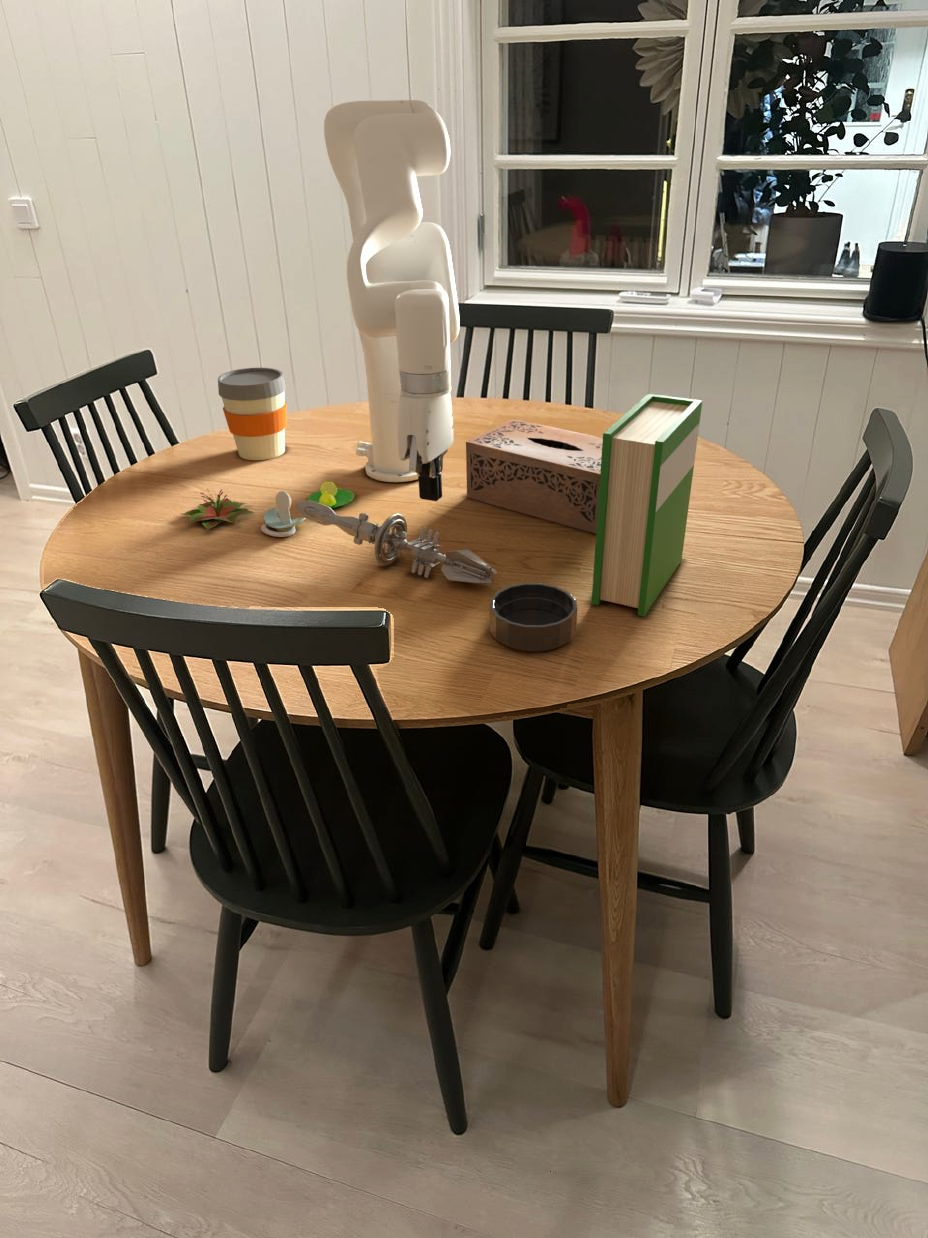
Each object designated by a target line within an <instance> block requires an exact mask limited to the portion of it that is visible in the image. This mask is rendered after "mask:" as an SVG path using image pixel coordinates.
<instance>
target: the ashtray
mask: <svg viewBox="0 0 928 1238" xmlns="http://www.w3.org/2000/svg"><path fill="white" fill-rule="evenodd" d="M577 621H578V603H577V599H576V597H574V596H573V595H572V594H571V593H570V592H569V591H567V590H565V589H563V588H561V587H559V586H557V585H553V584H552V585H551V584H547V583H542V582H522V583H517V584H512V585H508V586H505V587H503V588H501V589H500V590H498V591H496V592H495V593H494V595H492V596H491V598H490V600H489V632H490V633H491V635H492V637H494V639H495V640H496V641H497V642H499V643H501V644H502V645H504V646H506V647H508V648H510V649H513V650H517V651H520V652H526V653H527V652H528V653H540V652H547V651H553V650H555V649H558V648H560V647H562V646H564V645H565V644H567V643H569V642H571V641H572V639H573V637H574V636H575V635H576V632H577V623H578V622H577Z"/></svg>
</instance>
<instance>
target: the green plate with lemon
mask: <svg viewBox="0 0 928 1238" xmlns="http://www.w3.org/2000/svg"><path fill="white" fill-rule="evenodd" d="M319 489H320V490H318V491H315V492H313V493H312V494H310V495H309V496H308V497H307V500H310V501H315V502H317V503H320V504H323V505H325V506H328V507H330V508H331V509H335V508H339V507H343V506H345V505H347V504H349V503H351V502H352V501H353V500H354V499H355V494H354V493H353V492H352V491H350V490H348V489H344V488H338V487H337V485H336V484H335V483H334V482H332V481H325V482H323V483H322V484H321V485H320V488H319Z"/></svg>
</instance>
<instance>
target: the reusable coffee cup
mask: <svg viewBox="0 0 928 1238" xmlns="http://www.w3.org/2000/svg"><path fill="white" fill-rule="evenodd" d="M217 389H218V390H217V391H218V396H219V397H220V398H221V400H222V404H223V407H222V410H223V414H224V417H225V421H226V424H227V427H228V430H229V432H230V433H231V434H232V436H233V440H234V443H235V446H236V449H237V452H238V456H239V457H240V458H241V459H244V460H249V461H265V460H271V459H274V458H278V457H280V456H281V455H283V454H284V453H285V451H286V431H285V430H286V428H287V427H288V414H287V413H288V411H287V410H288V409H287V408H288V404H287V401H286V400H285V391H286V389H287V386H286V382H285V378H284V374H283V371H281V370H280V369H276V368H273V367H245V368H238V369H234V370H229V371H226V372H223V373H222V374H220V375H219V376H218V377H217Z"/></svg>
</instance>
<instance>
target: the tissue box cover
mask: <svg viewBox="0 0 928 1238" xmlns="http://www.w3.org/2000/svg"><path fill="white" fill-rule="evenodd" d="M602 443H603V436H597V435H593V434H589V433H583V432H579V431H574V430H570V429H565V428H561V427H556V426H551V425H547V424H543V423H537V422H533V421H528V420H523V419H519V418H513V419H510V420H508V421H506V422H504V423H502V424H500V425H498V426H495V427H493V428H492V429H489V430H487V431H485V432H483V433H481V434H479V435H476V436H474V437H473V438H471V439H469V440H466V441H465V461H466V462H465V463H466V465H465V466H466V467H465V468H466V469H465V470H466V471H465V472H466V498H468V499H472V500H476V501H478V502H483V503H485V504H486V503H487V504H490V505H493V506H497V507H500V508H503V509H506V510H511V511H514V512H517V513H521V514H525V515H528V516H531V517H535V518H538V519H542V520H544V521H545V520H546V521H550V522H552V523H556V524H560V525H563V526H567V527H570V528H573V529H577V530H580V531H584V532H587V533H591V534H594V535H596V530H597V515H598V501H599V486H600V472H601V457H602Z"/></svg>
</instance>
